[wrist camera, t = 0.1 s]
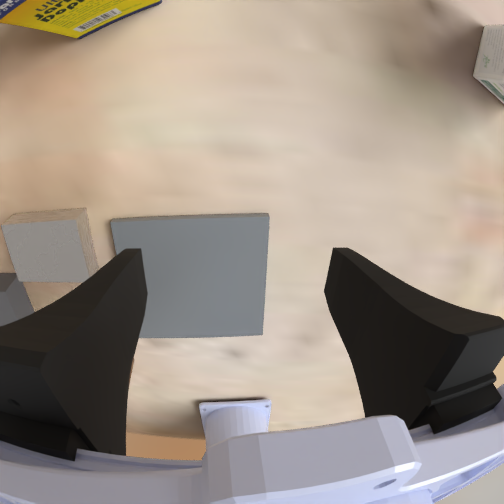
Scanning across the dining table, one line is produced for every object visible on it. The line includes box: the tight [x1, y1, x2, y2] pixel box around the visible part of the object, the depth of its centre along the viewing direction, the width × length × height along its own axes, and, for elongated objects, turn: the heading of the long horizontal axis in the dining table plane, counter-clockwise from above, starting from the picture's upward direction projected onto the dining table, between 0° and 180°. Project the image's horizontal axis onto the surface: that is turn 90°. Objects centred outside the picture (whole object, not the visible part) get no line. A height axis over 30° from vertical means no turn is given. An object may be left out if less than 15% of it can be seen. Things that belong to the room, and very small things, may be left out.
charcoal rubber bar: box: [0, 273, 35, 326], centre depth 23 cm, size 8×3×3 cm, turn 178°
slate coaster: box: [110, 213, 269, 338], centre depth 24 cm, size 11×11×1 cm
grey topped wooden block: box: [1, 208, 99, 282], centre depth 20 cm, size 7×5×2 cm
